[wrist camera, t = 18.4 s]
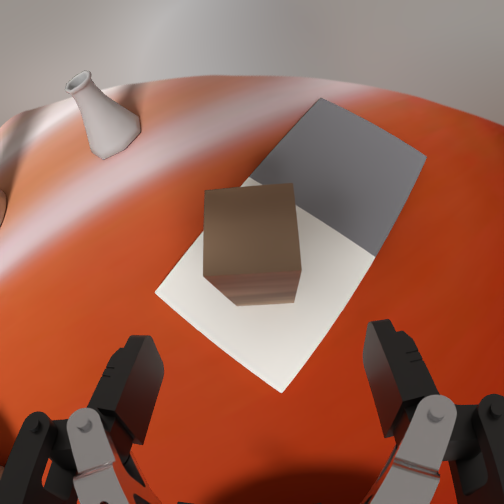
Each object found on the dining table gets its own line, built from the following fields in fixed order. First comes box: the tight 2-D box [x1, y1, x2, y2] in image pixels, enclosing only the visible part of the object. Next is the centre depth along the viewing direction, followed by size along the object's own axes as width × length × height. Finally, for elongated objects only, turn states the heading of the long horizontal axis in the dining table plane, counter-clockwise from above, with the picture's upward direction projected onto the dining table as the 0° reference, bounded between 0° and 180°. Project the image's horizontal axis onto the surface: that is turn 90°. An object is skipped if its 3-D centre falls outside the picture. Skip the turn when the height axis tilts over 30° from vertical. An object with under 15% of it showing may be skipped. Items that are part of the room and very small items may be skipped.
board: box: [155, 98, 427, 393], centre depth 25 cm, size 26×13×1 cm, turn 143°
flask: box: [65, 71, 141, 160], centre depth 27 cm, size 7×7×10 cm
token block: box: [203, 183, 302, 306], centre depth 18 cm, size 4×4×10 cm
